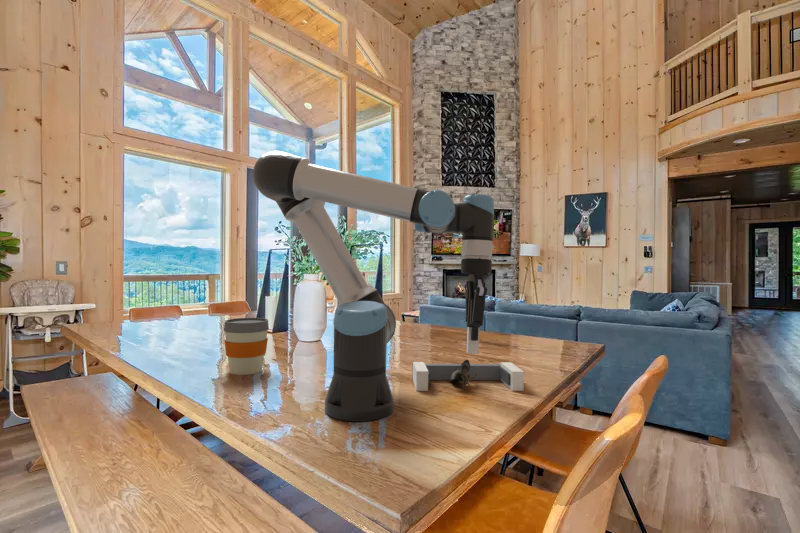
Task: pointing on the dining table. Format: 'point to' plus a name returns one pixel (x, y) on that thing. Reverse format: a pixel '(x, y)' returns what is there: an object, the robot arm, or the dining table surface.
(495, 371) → the rail
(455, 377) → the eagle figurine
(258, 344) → the reusable coffee cup
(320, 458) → the dining table surface
